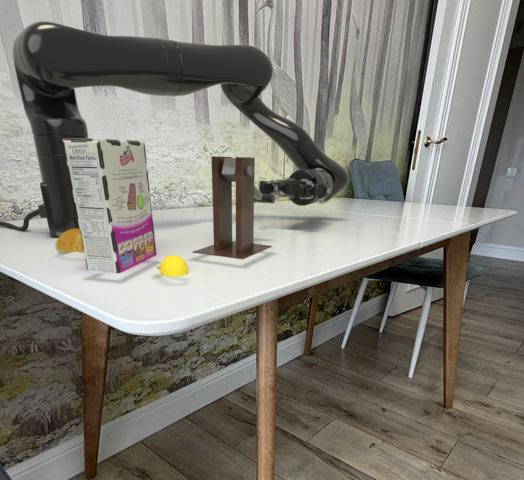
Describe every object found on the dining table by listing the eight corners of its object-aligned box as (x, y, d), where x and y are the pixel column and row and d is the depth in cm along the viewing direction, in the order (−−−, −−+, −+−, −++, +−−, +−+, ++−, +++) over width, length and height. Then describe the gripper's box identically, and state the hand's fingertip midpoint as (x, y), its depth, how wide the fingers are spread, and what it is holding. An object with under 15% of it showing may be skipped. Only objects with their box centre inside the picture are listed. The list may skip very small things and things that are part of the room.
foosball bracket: (226, 247, 71) (225, 156, 65) (272, 253, 68) (275, 158, 61) (192, 259, 62) (186, 155, 56) (242, 267, 59) (243, 157, 52)
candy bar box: (128, 259, 61) (113, 140, 54) (158, 262, 60) (147, 141, 53) (85, 279, 51) (59, 136, 44) (120, 282, 50) (100, 136, 43)
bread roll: (104, 261, 60) (100, 234, 58) (49, 258, 60) (43, 231, 59) (128, 250, 67) (125, 226, 65) (78, 247, 68) (74, 223, 66)
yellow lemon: (178, 286, 49) (164, 260, 47) (155, 289, 53) (141, 265, 52) (197, 274, 51) (184, 248, 49) (174, 277, 55) (161, 253, 54)
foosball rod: (248, 205, 71) (251, 192, 71) (273, 207, 69) (276, 193, 69) (213, 173, 59) (216, 157, 59) (242, 174, 57) (246, 158, 57)
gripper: (280, 167, 91) (249, 168, 78) (340, 170, 86) (318, 171, 73) (279, 202, 95) (248, 208, 81) (336, 206, 89) (314, 213, 76)
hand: (281, 191), depth 77 cm, fingers open, 8 cm apart
